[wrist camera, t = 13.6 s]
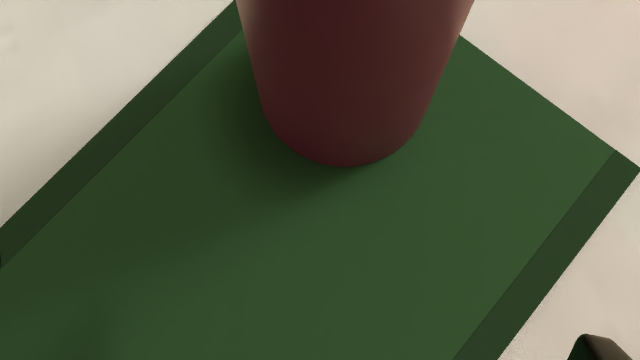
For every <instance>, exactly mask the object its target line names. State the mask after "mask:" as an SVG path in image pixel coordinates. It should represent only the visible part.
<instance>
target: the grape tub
mask: <svg viewBox="0 0 640 360" xmlns="http://www.w3.org/2000/svg"><path fill="white" fill-rule="evenodd" d="M473 2H474V0H236V4H237V8H238V12H239V16H240V20H241V24H242V28H243V32H244V36H245V40H246V45H247V49H248V53H249V57H250V61H251V65H252V69H253V73H254V77H255V81H256V85H257V89H258V94H259V98H260V102H261V106H262V109H263V112H264V115H265V117H266V119H267V121H268V123H269V125H270V127H271V128H272V130H273V131H274V133H275V134H276V135H277V136H278V137H279V138H280V140H281V141H282V142H283V143H284V144H286V145H287V146H288V147H289V148H290V149H291V150H293V151H295V152H296V153H298V154H299V155H301V156H303V157H305V158H307V159H309V160H311V161H315V162H318V163H321V164H325V165H330V166H340V167H350V166H360V165H365V164H369V163H372V162H375V161H378V160H380V159H383V158H385V157H387V156H389V155H390V154H392V153H393V152H395V151H397V150H398V149H399V148H400V147H402V146H403V145H404V144H405V143H406V142H407V141H408V140H409V139H410V138H411V137H412V135H413V134H414V133H415V131H416V130H417V128H418V127H419V125H420V123H421V121H422V119H423V117H424V115H425V112H426V110H427V108H428V106H429V103H430V101H431V99H432V96H433V94H434V92H435V89H436V87H437V85H438V83H439V80H440V78H441V76H442V73H443V71H444V69H445V66H446V64H447V62H448V60H449V57H450V55H451V53H452V50H453V48H454V46H455V43H456V41H457V39H458V36H459V34H460V32H461V30H462V27H463V25H464V23H465V20H466V18H467V16H468V13H469V11H470V9H471V7H472V4H473Z"/></svg>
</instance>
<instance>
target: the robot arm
mask: <svg viewBox="0 0 640 360" xmlns="http://www.w3.org/2000/svg"><path fill="white" fill-rule="evenodd" d="M0 267H1V254H0ZM567 360H632V359H631V358H630V357H629V356H628V355H627V354H626V353H625V352H624V351H623V350H622V349H621V348H620V347H619V346H618V345H617V344H616V343H615V342H614V341H612V340H611V339H609V338H605V337H600V336H595V335H589V334H583V335H580V336H579V337H578V339H577V340H576V342H575V344H574V346H573V349H572V351H571V353H570V355H569V357H568V359H567Z"/></svg>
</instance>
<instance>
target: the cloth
mask: <svg viewBox="0 0 640 360" xmlns="http://www.w3.org/2000/svg"><path fill="white" fill-rule="evenodd" d="M639 172H640V167H638V166H637V165H636V164H634V163H633V162H632V161H630V160H629V159H628V158H626V157H625V156H624V155H622V154H621V153H619V152H618V151H617V150H615V149H614V148H612V147H611V146H609V145H608V144H607V143H605V142H604V141H603V140H601V139H600V138H599V137H597V136H596V135H595V134H593V133H592V132H590V131H589V130H588V129H586V128H585V127H584V126H582V125H581V124H580V123H578V122H577V121H576V120H574V119H573V118H572V117H570V116H569V115H567V114H566V113H565V112H563V111H562V110H561V109H559V108H558V107H557V106H555V105H554V104H553V103H551V102H550V101H548V100H547V99H546V98H544V97H543V96H542V95H540V94H539V93H538V92H536V91H535V90H534V89H532V88H531V87H530V86H528V85H527V84H525V83H524V82H523V81H521V80H520V79H519V78H517V77H516V76H515V75H513V74H512V73H511V72H509V71H508V70H506V69H505V68H504V67H502V66H501V65H500V64H498V63H497V62H496V61H494V60H493V59H492V58H490V57H489V56H488V55H486V54H485V53H483V52H482V51H481V50H479V49H478V48H477V47H475V46H474V45H473V44H471V43H470V42H469V41H467V40H466V39H464V38H463V37H462V36H460V35H459V36H458V39H457V41H456V43H455V46H454V48H453V50H452V53H451V55H450V57H449V60H448V62H447V64H446V66H445V69H444V71H443V73H442V76H441V78H440V80H439V83H438V85H437V87H436V89H435V92H434V94H433V96H432V99H431V101H430V103H429V106H428V108H427V110H426V112H425V115H424V117H423V119H422V121H421V123H420V125H419V127H418V128H417V130H416V131H415V133H414V134H413V135H412V137H411V138H410V139H409V140H408V141H407V142H406V143H405V144H404V145H403V146H402V147H400V148H399V149H398V150H397V151H395V152H393V153H392V154H390V155H389V156H387V157H385V158H383V159H380V160H378V161H375V162H372V163H369V164H365V165H360V166H350V167H340V166H330V165H325V164H321V163H318V162H315V161H311V160H309V159H307V158H305V157H303V156H301V155H299V154H298V153H296V152H295V151H293V150H291V149H290V148H289V147H288V146H287V145H286V144H284V143H283V142H282V141H281V140H280V138H279V137H278V136H277V135H276V134H275V133H274V131H273V130H272V128H271V127H270V125H269V123H268V121H267V119H266V117H265V115H264V112H263V109H262V106H261V102H260V98H259V94H258V89H257V85H256V81H255V77H254V73H253V69H252V65H251V61H250V57H249V53H248V49H247V45H246V40H245V36H244V32H243V28H242V24H241V20H240V16H239V12H238V8H237V4H236V0H234V1H233V2H232V3H231V4H230V5H229V6H228V7H227V8H226V9H224V10H223V11H222V12H221V13H220V14H219V15H218V16H217V17H216V18H215V19H214V20H213V21H212V22H211V23H210V24H209V25H208V26H207V27H206V28H205V29H204V30H203V31H202V32H201V33H200V34H199V35H198V36H197V37H196V38H195V39H194V40H193V41H192V42H191V43H190V44H189V45H188V46H187V47H185V48H184V49H183V50H182V51H181V52H180V53H179V54H178V55H177V56H176V57H175V58H174V59H173V60H172V61H171V62H170V63H169V64H168V65H167V66H166V67H165V68H164V69H163V70H162V71H161V72H160V73H159V74H158V75H157V76H156V77H155V78H154V79H153V80H152V81H151V82H150V83H149V84H148V85H146V86H145V87H144V88H143V89H142V90H141V91H140V92H139V93H138V94H137V95H136V96H135V97H134V98H133V99H132V100H131V101H130V102H129V103H128V104H127V105H126V106H125V107H124V108H123V109H122V110H121V111H120V112H119V113H118V114H117V115H116V116H115V117H114V118H113V119H112V120H111V121H110V122H109V123H107V124H106V125H105V126H104V127H103V128H102V129H101V130H100V131H99V132H98V133H97V134H96V135H95V136H94V137H93V138H92V139H91V140H90V141H89V142H88V143H87V144H86V145H85V146H84V147H83V148H82V149H81V150H80V151H79V152H78V153H77V154H76V155H75V156H74V157H73V158H72V159H71V160H70V161H68V162H67V163H66V164H65V165H64V166H63V167H62V168H61V169H60V170H59V171H58V172H57V173H56V174H55V175H54V176H53V177H52V178H51V179H50V180H49V181H48V182H47V183H46V184H45V185H44V186H43V187H42V188H41V189H40V190H39V191H38V192H37V193H36V194H35V195H34V196H33V197H32V198H31V199H29V200H28V201H27V202H26V203H25V204H24V205H23V206H22V207H21V208H20V209H19V210H18V211H17V212H16V213H15V214H14V215H13V216H12V217H11V218H10V219H9V220H8V221H7V222H6V223H5V224H4V225H3V226H2V227H1V228H0V254H1V267H0V360H497V359H498V358H499V357H500V355H501V354H502V353H503V351H504V350H505V349H506V347H507V346H508V345H509V344H510V342H511V341H512V340H513V338H514V337H515V336H516V334H517V333H518V332H519V330H520V329H521V328H522V326H523V325H524V324H525V322H526V321H527V320H528V318H529V317H530V316H531V314H532V313H533V312H534V311H535V309H536V308H537V307H538V305H539V304H540V303H541V301H542V300H543V299H544V297H545V296H546V295H547V293H548V292H549V291H550V289H551V288H552V287H553V285H554V284H555V283H556V281H557V280H558V279H559V278H560V276H561V275H562V274H563V272H564V271H565V270H566V268H567V267H568V266H569V264H570V263H571V262H572V260H573V259H574V258H575V256H576V255H577V254H578V252H579V251H580V250H581V248H582V247H583V246H584V245H585V243H586V242H587V241H588V239H589V238H590V237H591V235H592V234H593V233H594V231H595V230H596V229H597V227H598V226H599V225H600V223H601V222H602V221H603V219H604V218H605V217H606V215H607V214H608V213H609V212H610V210H611V209H612V208H613V206H614V205H615V204H616V202H617V201H618V200H619V198H620V197H621V196H622V194H623V193H624V192H625V190H626V189H627V188H628V186H629V185H630V184H631V183H632V181H633V180H634V179H635V177H636V176H637V175H638V173H639Z"/></svg>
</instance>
